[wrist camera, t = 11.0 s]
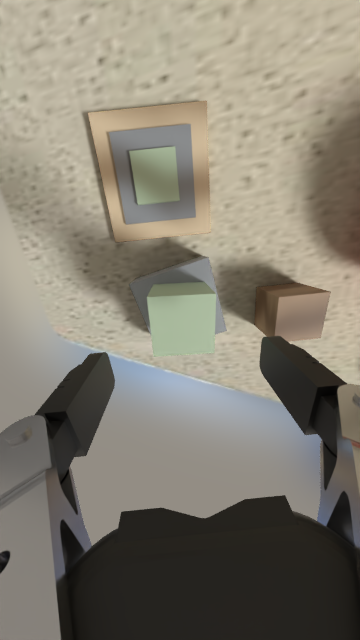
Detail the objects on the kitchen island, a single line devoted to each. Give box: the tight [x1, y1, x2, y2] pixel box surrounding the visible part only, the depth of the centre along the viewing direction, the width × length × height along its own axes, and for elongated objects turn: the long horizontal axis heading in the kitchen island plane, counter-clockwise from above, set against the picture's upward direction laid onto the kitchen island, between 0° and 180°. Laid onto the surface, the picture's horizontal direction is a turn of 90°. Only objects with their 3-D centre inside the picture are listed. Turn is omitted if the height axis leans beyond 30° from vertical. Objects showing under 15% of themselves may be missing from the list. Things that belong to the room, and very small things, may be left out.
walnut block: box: [254, 283, 331, 342], centre depth 21 cm, size 5×5×5 cm
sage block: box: [147, 282, 216, 357], centre depth 16 cm, size 5×5×5 cm
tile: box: [88, 101, 211, 242], centre depth 17 cm, size 10×10×1 cm
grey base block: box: [129, 256, 227, 334], centre depth 20 cm, size 8×8×4 cm
